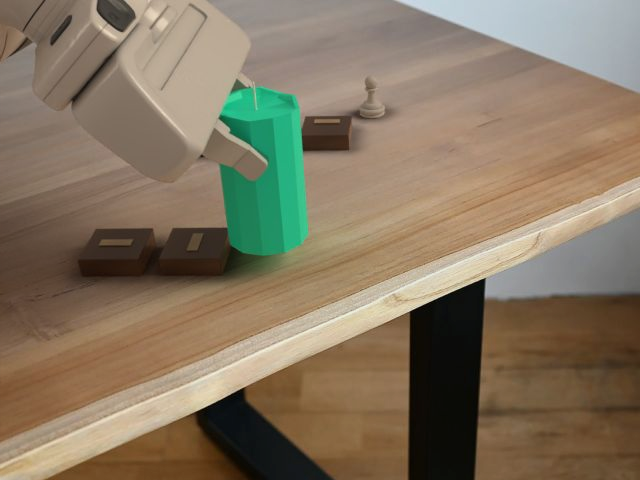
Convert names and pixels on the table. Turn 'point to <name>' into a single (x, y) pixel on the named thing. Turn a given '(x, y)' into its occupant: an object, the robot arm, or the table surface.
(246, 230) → the candle
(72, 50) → the robot arm
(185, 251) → the front word
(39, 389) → the table surface
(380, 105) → the pawn
